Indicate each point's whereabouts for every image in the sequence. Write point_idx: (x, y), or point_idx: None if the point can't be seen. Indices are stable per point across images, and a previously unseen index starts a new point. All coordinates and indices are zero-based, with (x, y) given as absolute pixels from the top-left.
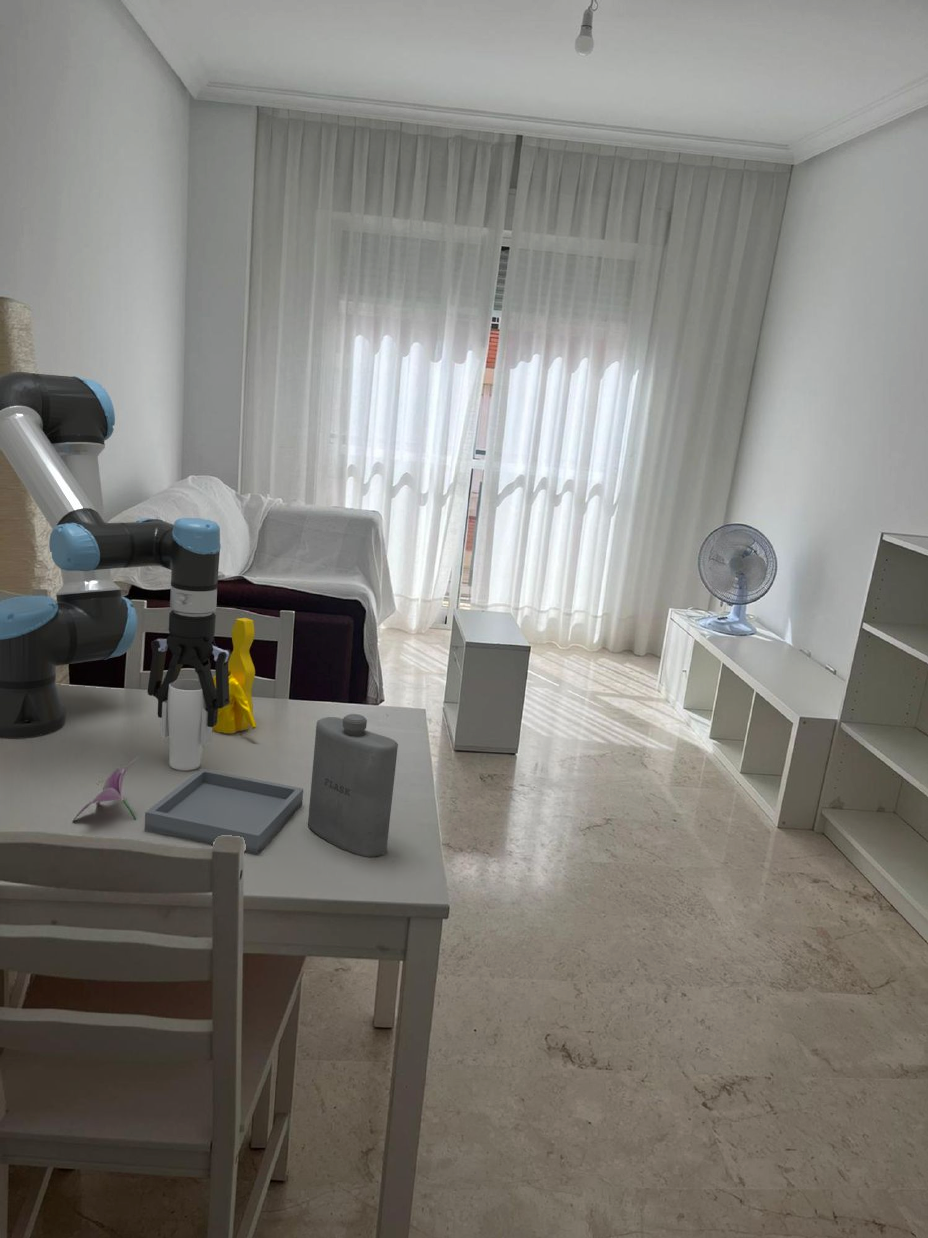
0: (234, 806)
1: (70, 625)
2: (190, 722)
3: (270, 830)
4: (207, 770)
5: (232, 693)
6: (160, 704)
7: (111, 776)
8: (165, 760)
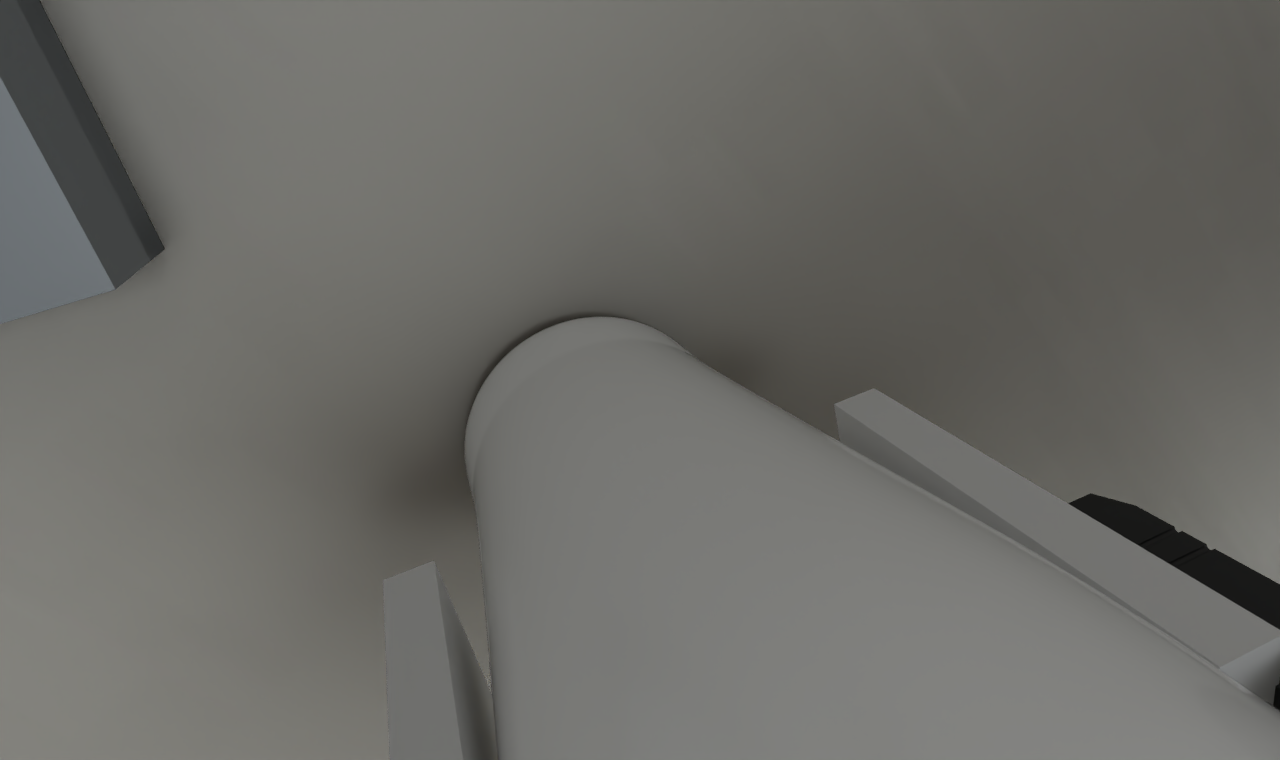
0: None
1: None
2: (569, 643)
3: None
4: (3, 294)
5: None
6: (1257, 611)
7: None
8: (760, 392)
